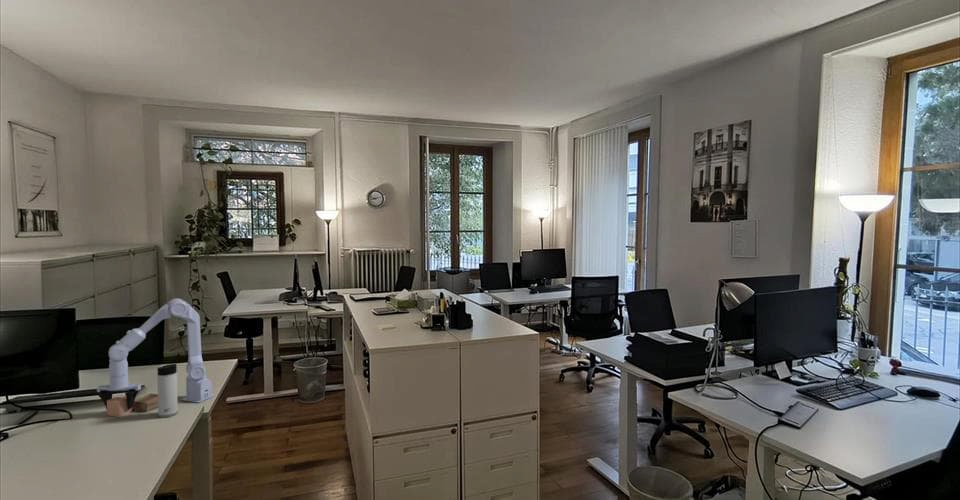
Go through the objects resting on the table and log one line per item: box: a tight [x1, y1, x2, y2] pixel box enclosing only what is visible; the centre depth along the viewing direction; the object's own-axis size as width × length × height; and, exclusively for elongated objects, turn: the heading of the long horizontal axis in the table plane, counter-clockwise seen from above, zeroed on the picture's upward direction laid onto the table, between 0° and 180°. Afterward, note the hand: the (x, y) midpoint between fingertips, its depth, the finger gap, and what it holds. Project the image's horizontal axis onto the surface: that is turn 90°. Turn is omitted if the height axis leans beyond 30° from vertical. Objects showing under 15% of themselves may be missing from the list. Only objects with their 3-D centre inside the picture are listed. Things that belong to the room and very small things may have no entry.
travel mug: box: [157, 363, 179, 419], centre depth 176 cm, size 6×7×20 cm
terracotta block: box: [106, 394, 133, 418], centre depth 177 cm, size 6×6×6 cm
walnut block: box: [132, 393, 158, 413], centre depth 184 cm, size 8×8×4 cm
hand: (119, 408), depth 177 cm, fingers closed on terracotta block, 7 cm apart
